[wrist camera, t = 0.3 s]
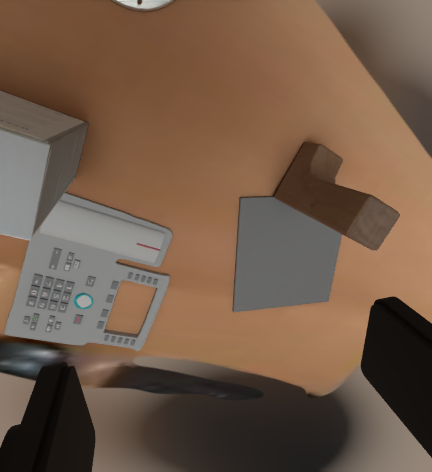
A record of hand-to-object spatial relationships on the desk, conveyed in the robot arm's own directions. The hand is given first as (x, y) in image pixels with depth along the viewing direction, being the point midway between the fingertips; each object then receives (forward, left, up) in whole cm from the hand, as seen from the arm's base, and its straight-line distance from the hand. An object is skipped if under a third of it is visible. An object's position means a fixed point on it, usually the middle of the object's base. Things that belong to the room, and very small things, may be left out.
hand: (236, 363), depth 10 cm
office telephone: (+17, -10, -37) cm, 42 cm away
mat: (+15, +20, -36) cm, 44 cm away
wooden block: (+2, +20, -36) cm, 41 cm away
